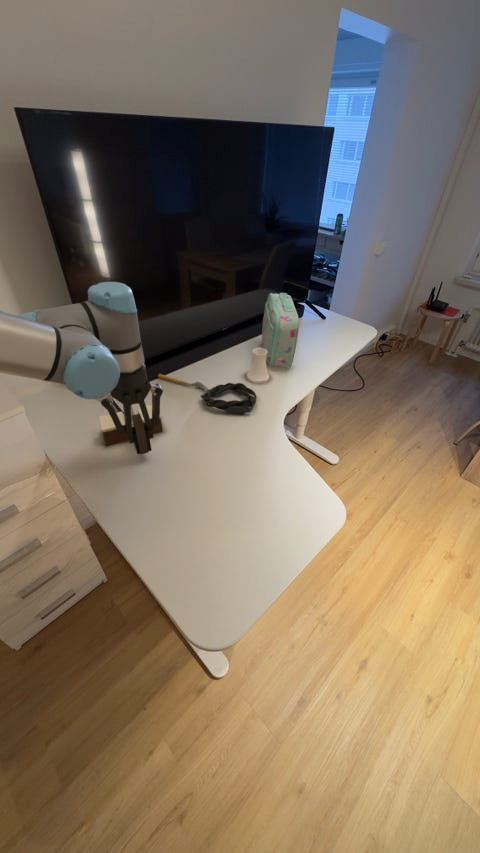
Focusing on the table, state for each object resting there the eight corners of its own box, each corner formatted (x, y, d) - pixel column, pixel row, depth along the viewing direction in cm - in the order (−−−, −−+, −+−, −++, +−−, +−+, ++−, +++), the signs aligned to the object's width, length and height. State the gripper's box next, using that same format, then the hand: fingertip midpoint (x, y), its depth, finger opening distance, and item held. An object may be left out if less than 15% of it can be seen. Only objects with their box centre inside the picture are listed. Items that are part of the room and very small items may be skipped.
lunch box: (258, 338, 141) (262, 285, 127) (283, 338, 142) (290, 285, 128) (266, 372, 121) (272, 313, 107) (295, 372, 121) (304, 313, 108)
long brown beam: (140, 454, 83) (133, 423, 77) (127, 414, 95) (120, 384, 88) (149, 452, 84) (142, 420, 77) (134, 412, 95) (128, 382, 89)
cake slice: (144, 436, 93) (141, 420, 89) (140, 423, 97) (136, 407, 93) (162, 431, 95) (160, 416, 91) (157, 419, 99) (155, 403, 95)
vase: (266, 371, 121) (269, 345, 115) (270, 383, 116) (273, 356, 109) (245, 372, 120) (247, 346, 114) (248, 383, 115) (250, 357, 108)
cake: (106, 446, 89) (101, 430, 86) (103, 432, 94) (98, 416, 90) (129, 440, 91) (126, 424, 88) (125, 426, 96) (121, 411, 92)
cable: (197, 412, 102) (196, 400, 99) (204, 386, 112) (204, 375, 110) (254, 417, 101) (255, 405, 98) (256, 390, 112) (257, 379, 109)
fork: (155, 374, 114) (208, 389, 108) (158, 371, 115) (210, 385, 109) (157, 380, 116) (209, 394, 110) (160, 376, 117) (212, 390, 111)
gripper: (158, 350, 74) (169, 432, 89) (84, 362, 69) (109, 447, 84) (167, 366, 69) (177, 450, 84) (88, 381, 64) (114, 468, 79)
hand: (143, 448), depth 84 cm, fingers closed on long brown beam, 2 cm apart
